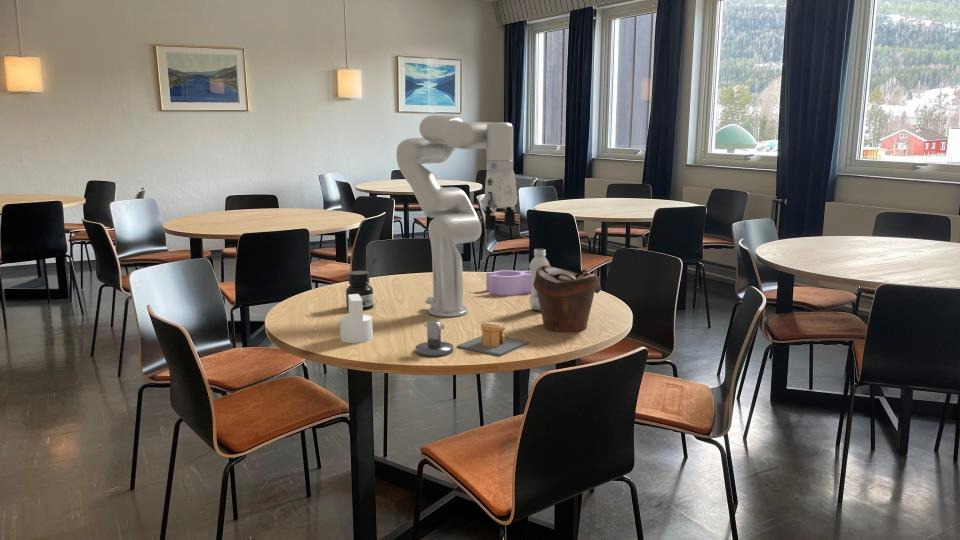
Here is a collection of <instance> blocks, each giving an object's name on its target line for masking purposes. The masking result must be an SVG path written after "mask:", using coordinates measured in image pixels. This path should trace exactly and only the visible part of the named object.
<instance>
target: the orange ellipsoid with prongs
mask: <svg viewBox="0 0 960 540" xmlns="http://www.w3.org/2000/svg"><path fill="white" fill-rule="evenodd" d="M505 325H506V324H505V323H504V322H500V321H487V322H483V323H481V324H480V330H481V331H482V333H481V334H482V335H480V336H481V344H482V345H483V346H488V347H499V341H500V342H502V344H505V337H506V335H505V334H504V331H505V329H506V327H505Z"/></svg>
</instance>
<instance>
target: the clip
mask: <svg viewBox="0 0 960 540" xmlns="http://www.w3.org/2000/svg"><path fill="white" fill-rule="evenodd" d="M485 277H486V279H485V280H486V285H485V286H486V287H485V288H486V292H488V293H489V295H491V296H492V295H497V296H518V295H523V294H531V283H532V282H531V274H530V269H529V270H512V269H511V270H509V269H508V270H495V271H491V272H490V271H488V272H486V273H485Z"/></svg>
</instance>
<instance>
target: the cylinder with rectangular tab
mask: <svg viewBox="0 0 960 540" xmlns="http://www.w3.org/2000/svg"><path fill="white" fill-rule="evenodd" d="M348 303H349V309H348V315H344V316H341V317H340V318H339V330H340V331H339V333H340V341H341V342H342V343H347V344H362V343H367V342H370V341H372V340H373V339H374V335H373V334H374V333H373V332H374V331H373V317H372V316H371V315H369V314H364V310H363V305H362V299H361V297H360V295H359V294H350V295H348Z"/></svg>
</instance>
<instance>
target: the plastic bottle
mask: <svg viewBox="0 0 960 540" xmlns="http://www.w3.org/2000/svg"><path fill="white" fill-rule="evenodd" d="M546 251H547V250H546V249H545V248H534V250H533V256H534V257H533V258H532V259H531V261H530V263H529V270H530V274H531V282H532V283H531V293H530V297H529V305H530V306H529V307H530V308H531V310H534V311H539V312H541V309H540V304H539V299H538V295H537V291H536V290H535V288H534V286H533V283H534V280H535V276H536V271H537V269H538V268H539V267H540V266H543V265H546V266H551V264H550V262H549V260H548V259H547V257H546V256H547V253H546Z"/></svg>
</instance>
